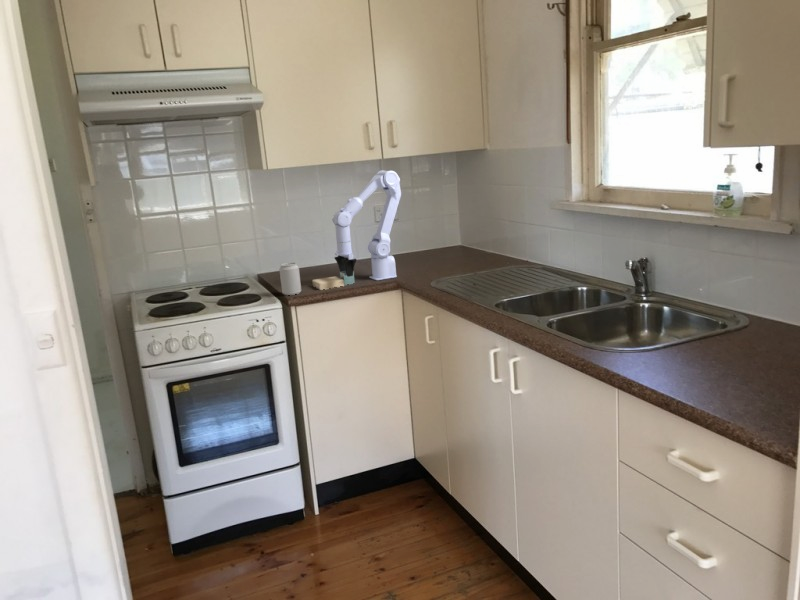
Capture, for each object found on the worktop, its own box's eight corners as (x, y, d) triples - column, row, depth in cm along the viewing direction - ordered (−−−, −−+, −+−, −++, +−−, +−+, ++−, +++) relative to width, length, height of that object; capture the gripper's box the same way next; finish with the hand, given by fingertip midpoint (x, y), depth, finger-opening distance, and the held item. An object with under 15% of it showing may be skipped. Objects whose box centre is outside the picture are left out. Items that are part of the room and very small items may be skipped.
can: (283, 296, 254) (279, 266, 251) (281, 293, 261) (277, 263, 258) (302, 294, 256) (299, 263, 253) (300, 290, 263) (296, 260, 260)
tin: (351, 281, 272) (349, 270, 271) (354, 283, 268) (353, 271, 267) (340, 283, 270) (339, 271, 269) (344, 285, 266) (343, 273, 265)
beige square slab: (336, 283, 273) (335, 276, 273) (344, 287, 265) (343, 280, 264) (312, 287, 270) (312, 279, 269) (320, 291, 261) (319, 283, 260)
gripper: (328, 241, 270) (331, 273, 273) (340, 244, 257) (343, 278, 260) (344, 238, 273) (347, 271, 276) (357, 242, 260) (360, 276, 263)
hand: (346, 274), depth 268 cm, fingers open, 7 cm apart
